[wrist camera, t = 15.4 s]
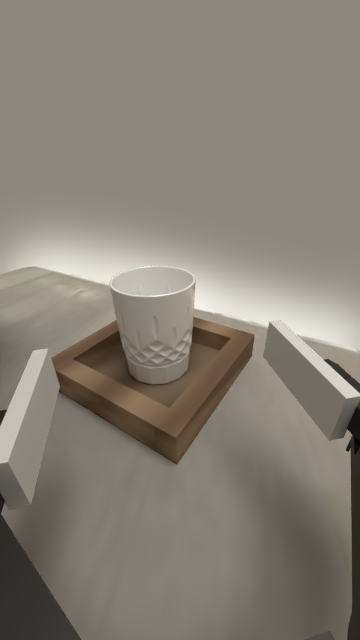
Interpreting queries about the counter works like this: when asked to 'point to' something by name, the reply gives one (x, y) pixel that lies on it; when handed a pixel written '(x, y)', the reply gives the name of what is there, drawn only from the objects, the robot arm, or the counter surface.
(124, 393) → the wooden tray
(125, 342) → the white cup
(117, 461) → the counter surface
